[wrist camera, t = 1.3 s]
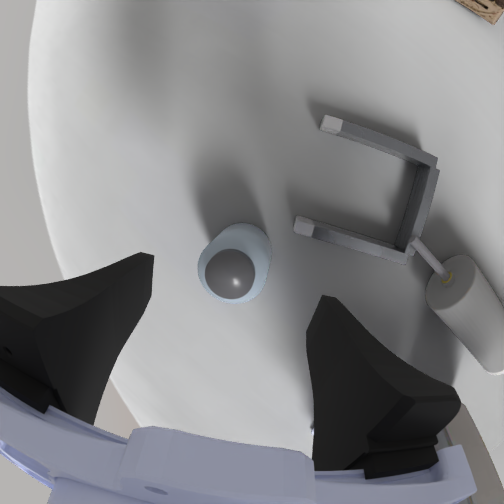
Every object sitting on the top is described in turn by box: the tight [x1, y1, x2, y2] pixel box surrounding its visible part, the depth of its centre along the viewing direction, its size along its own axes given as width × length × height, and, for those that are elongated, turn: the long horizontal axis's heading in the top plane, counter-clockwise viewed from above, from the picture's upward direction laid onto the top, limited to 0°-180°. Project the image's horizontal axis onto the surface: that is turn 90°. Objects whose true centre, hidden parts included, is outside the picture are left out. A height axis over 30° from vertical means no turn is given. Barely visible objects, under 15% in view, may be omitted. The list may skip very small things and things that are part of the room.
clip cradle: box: [294, 114, 440, 265], centre depth 19 cm, size 8×9×2 cm
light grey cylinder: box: [198, 223, 272, 304], centre depth 20 cm, size 4×4×5 cm
